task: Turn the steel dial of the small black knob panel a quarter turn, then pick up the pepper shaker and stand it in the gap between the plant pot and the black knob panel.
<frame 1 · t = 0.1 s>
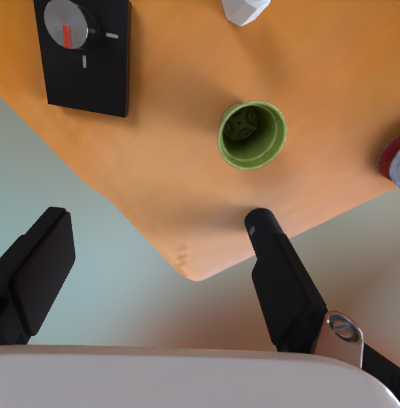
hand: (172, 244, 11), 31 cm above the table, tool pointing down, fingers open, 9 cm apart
plant pot: (238, 122, 39), on the table
pepper shaker: (241, 1, 31), on the table
black knob panel: (89, 56, 33), on the table
hob knob: (74, 26, 27), point 5 cm above the table, hinge at 0.0°
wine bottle: (258, 219, 51), on the table
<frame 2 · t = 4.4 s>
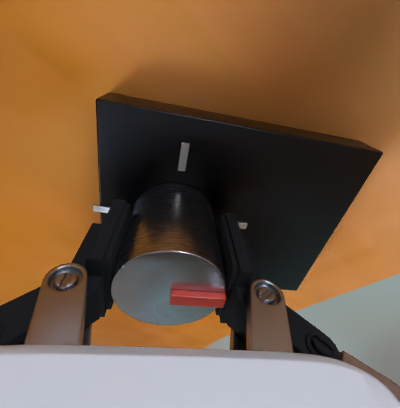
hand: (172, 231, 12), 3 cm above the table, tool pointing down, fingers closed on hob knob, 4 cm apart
black knob panel: (220, 204, 15), on the table
hob knob: (171, 250, 11), point 5 cm above the table, hinge at 0.1°, touching gripper
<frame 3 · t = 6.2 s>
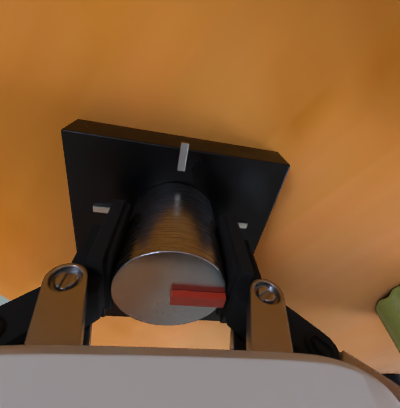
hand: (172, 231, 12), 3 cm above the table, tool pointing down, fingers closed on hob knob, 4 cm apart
black knob panel: (169, 234, 16), on the table
hob knob: (171, 250, 11), point 5 cm above the table, hinge at 90.0°, touching gripper
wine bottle: (380, 382, 34), on the table
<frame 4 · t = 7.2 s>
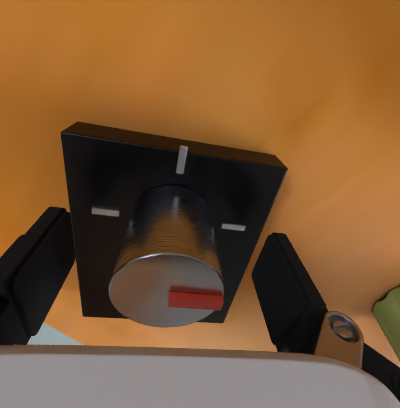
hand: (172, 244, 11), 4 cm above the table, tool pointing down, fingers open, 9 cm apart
black knob panel: (167, 236, 16), on the table
hob knob: (170, 252, 11), point 5 cm above the table, hinge at 88.6°
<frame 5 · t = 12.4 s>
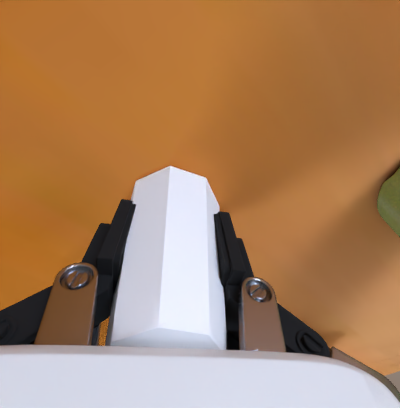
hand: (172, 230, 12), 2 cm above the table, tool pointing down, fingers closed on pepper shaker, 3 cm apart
pepper shaker: (174, 204, 14), on the table, touching gripper
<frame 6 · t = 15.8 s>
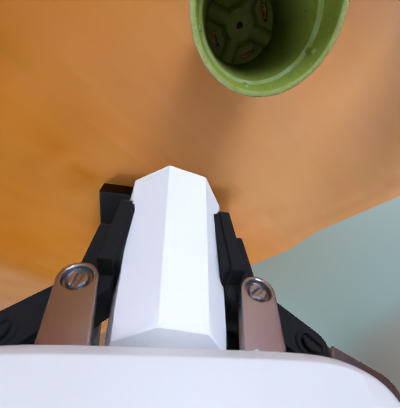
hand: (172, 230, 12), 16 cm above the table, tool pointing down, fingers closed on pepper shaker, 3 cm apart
plant pot: (239, 25, 21), on the table
pepper shaker: (173, 204, 14), point 14 cm above the table, touching gripper
black knob panel: (157, 225, 32), on the table
when the fingers open (2 cm above the table, at t = 19.2 s): pepper shaker stays where it is, on the table.
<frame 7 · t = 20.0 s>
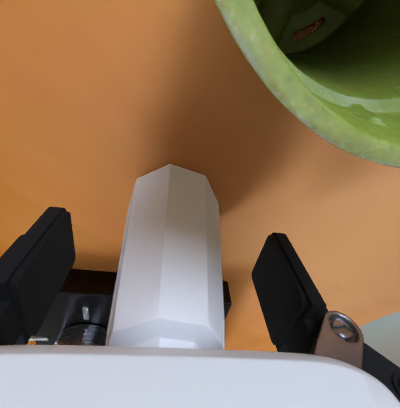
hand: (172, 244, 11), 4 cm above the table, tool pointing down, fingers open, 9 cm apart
pepper shaker: (174, 202, 14), on the table
black knob panel: (133, 316, 20), on the table
hob knob: (75, 380, 16), point 5 cm above the table, hinge at 88.6°
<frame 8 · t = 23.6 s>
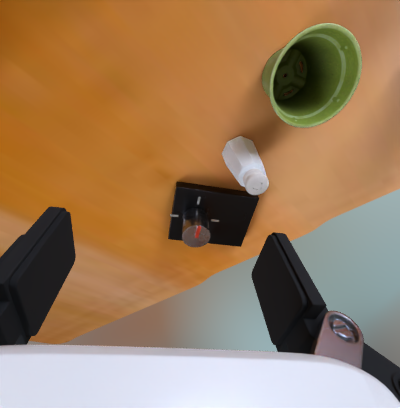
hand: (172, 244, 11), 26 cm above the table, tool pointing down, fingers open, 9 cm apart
plant pot: (283, 74, 31), on the table
pepper shaker: (238, 152, 37), on the table
black knob panel: (210, 213, 43), on the table
hob knob: (195, 227, 38), point 5 cm above the table, hinge at 88.6°
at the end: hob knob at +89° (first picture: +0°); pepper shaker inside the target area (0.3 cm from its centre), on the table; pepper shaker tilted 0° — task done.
